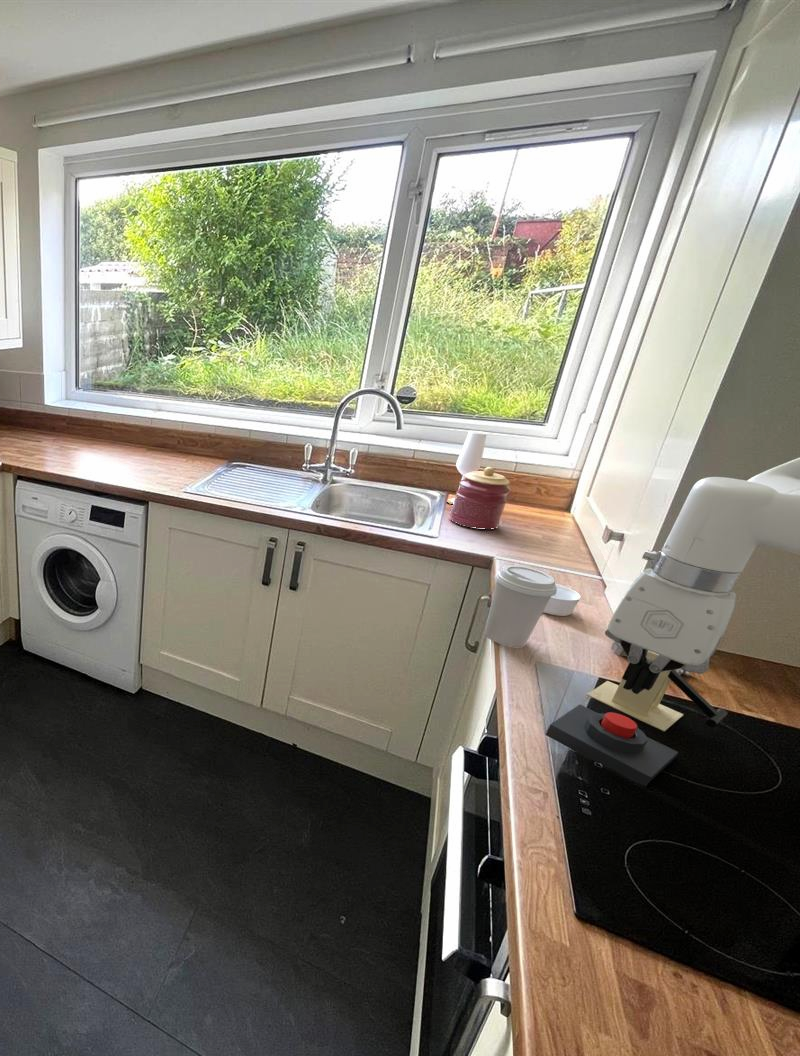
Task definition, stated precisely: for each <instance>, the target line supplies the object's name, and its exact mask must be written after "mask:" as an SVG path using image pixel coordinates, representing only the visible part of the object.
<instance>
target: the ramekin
mask: <svg viewBox="0 0 800 1056" xmlns="http://www.w3.org/2000/svg"><path fill="white" fill-rule="evenodd" d="M555 585H556V588H557V593H556V594H555V595H553V596H551V598H550V600H549V601H548V603H547V605H546V607H545V609H544V611H543V612H542V614H543V613H544V614H547V615H550V616H557V617H567V616H569V615H571V614H572V613H573V612H574V610H575V608H576V606H577V604H578V603H579V602H580V600H581V599H582V596H581V594H580V593H578V592H577V591H575V590H574V589H572V588H570V587H567V586H564V585H561V584H559V583H555Z"/></svg>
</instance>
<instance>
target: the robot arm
mask: <svg viewBox="0 0 800 1056" xmlns="http://www.w3.org/2000/svg"><path fill="white" fill-rule="evenodd" d="M759 546H761V547H762V546H763V547H767V548H770V549H776V550H779V551H784V552H786V553H791V554H795V555H798V556H800V457H797V458H795V459H792V460H790V461H787V462H784V463H782V464H779V465H776V466H774V467H772V468H769V469H766V470H764V471H762V472H760V473H758V474H756V475H754V476H752V477H750V478H749V479H747V480H745V479H739V478H733V477H725V476H709V477H708V476H707V477H703V478H702V479H699V480H698V481H696V482H695V483H694V485H692V488H691V489H690V491H689V493H688V495H687V497H686V499H685V501H684V503H683V504H682V507H681V509H680V511H679V513H678V515H677V517H676V519H675V522H674V523H673V526H672V528H671V530H670V532H669V534H668V536H667V538H666V540H665V542H664V545H663V546H662V548H661V550H659V551H652V550H649V549H646V551H644V553H643V554H642V557H641V559H642V560H645V561H647V562H648V563H651V564H650V565H651V567H650V568H646V569H643V570H642V571H640V573H639V574H638V575H637V576H636V578H635V579H634V581H633V582H632V583H631V585H630V586H629V588H627V591H626V592H625V594H624V595H623V597H622V598H621V601H620V602H619V604H618V605H617V607H616V609H615V611H614V612H613V614H612V616H611V618H610V620H609V622H608V625H607V629H606V630H605V632H604V635H605V636H606V638H607V637H608V638H609V639H610V640H612V641H613V642H617V643H619V644H621V646H622V648H623V649H624V651H625V653H626V654H627V656H628V657H627V656H626V657H627V661H628V665H627V667H626V669H625V670H624V673H623V675H622V677H621V680H622V679H624V680H626V682H625V684H624V686H623V688H624V689H626V690H628V689H629V690H631V689H632V690H631V691H633V693H635V694H638V693H640V692H641V691H642V690H644V689H646V690H648V691H649V690H650V689H651V688H652V687H653V685H654V683H655V681H656V679H657V678H658V676H659V674H660V672H662V671H668V670H674V669H683V670H686V671H690V672H691V673H695V674H700V675H703V674H705V673H706V672H708V670H709V666H710V658H711V657H713V655H714V654H715V652H716V651H717V649H718V647H719V645H720V644H721V641H722V639H723V637H724V635H725V632H726V630H727V628H728V626H729V623H730V621H731V618H732V615H733V613H734V608H735V605H736V599H737V594H736V593H735V592H734V591H732V590H733V589H734V587H735V585H736V584H737V582H738V580H739V578H740V576H741V574H742V572H743V571H744V569H745V568H746V565H747V564H748V562H749V560H750V559H751V556H752V555H753V553H754V551H755V549H756V548H757V547H759ZM648 650H649V651H651V652H654V653H656V654H659V655H658V657H657V658H656V659H655V660H654V661H653V662H651V663H650V664H648V663H647V662H648V661H647V658H646V656H647V653H648Z"/></svg>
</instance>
